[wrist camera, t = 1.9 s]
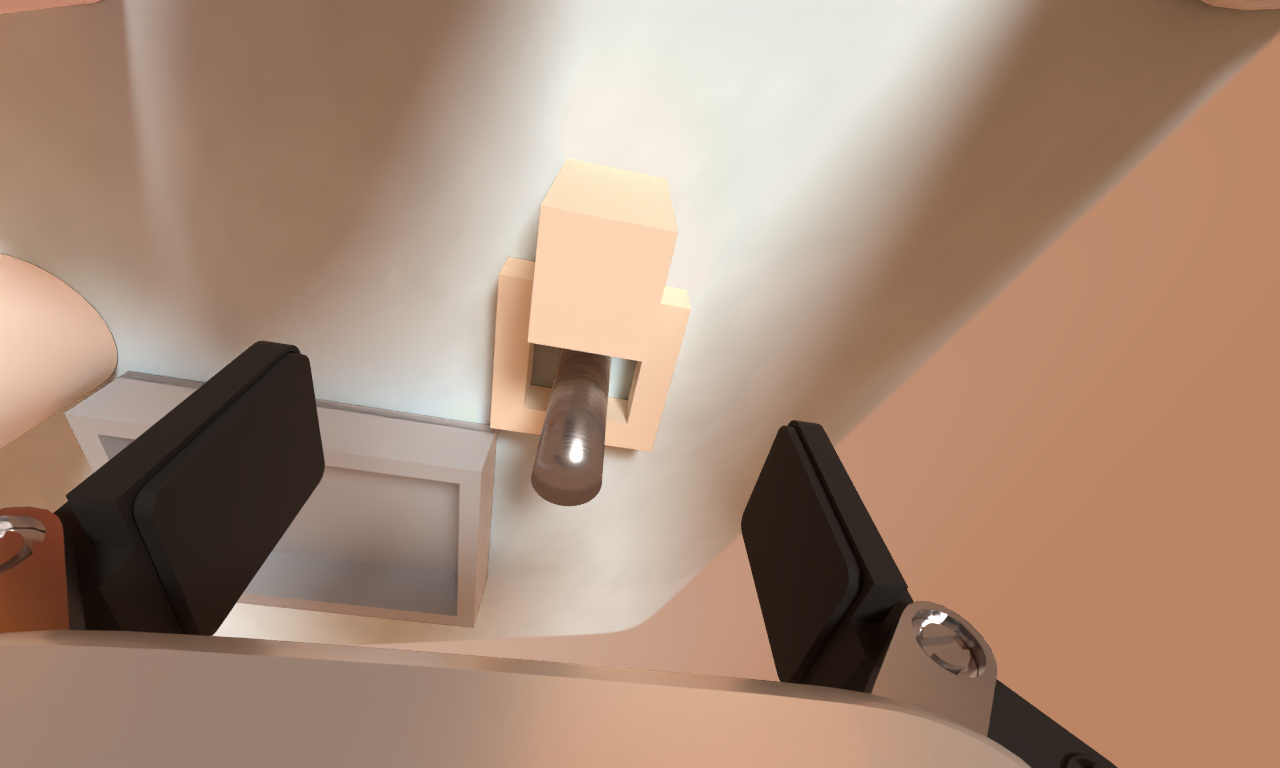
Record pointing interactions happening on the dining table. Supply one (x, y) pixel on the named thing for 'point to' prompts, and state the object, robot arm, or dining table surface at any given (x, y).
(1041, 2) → the dining table surface
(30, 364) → the cylindrical container
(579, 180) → the beige stepped block
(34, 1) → the smoothie
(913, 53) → the dining table surface
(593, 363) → the post
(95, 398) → the tray
